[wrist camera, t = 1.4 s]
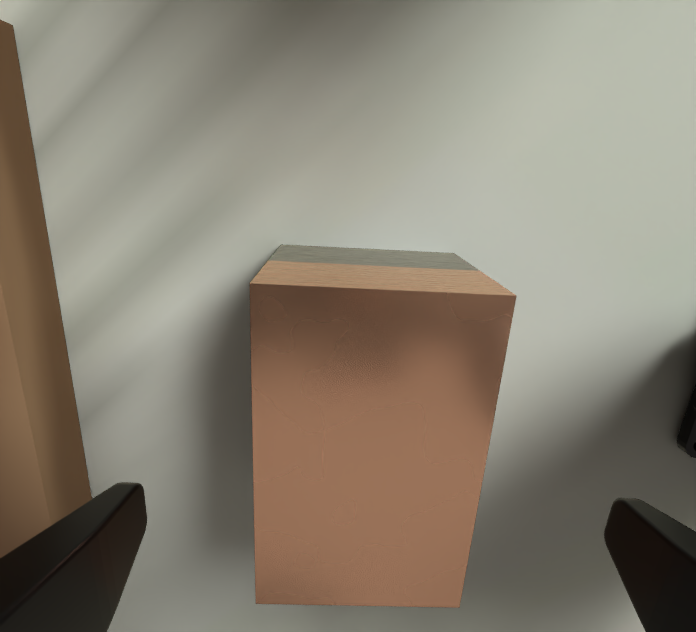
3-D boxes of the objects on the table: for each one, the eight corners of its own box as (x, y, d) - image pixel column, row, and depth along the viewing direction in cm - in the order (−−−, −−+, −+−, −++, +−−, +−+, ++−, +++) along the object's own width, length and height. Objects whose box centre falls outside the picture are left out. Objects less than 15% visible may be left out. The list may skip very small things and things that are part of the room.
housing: (453, 253, 12) (516, 295, 8) (418, 526, 16) (448, 663, 11) (281, 244, 12) (249, 283, 8) (280, 522, 15) (256, 661, 11)
